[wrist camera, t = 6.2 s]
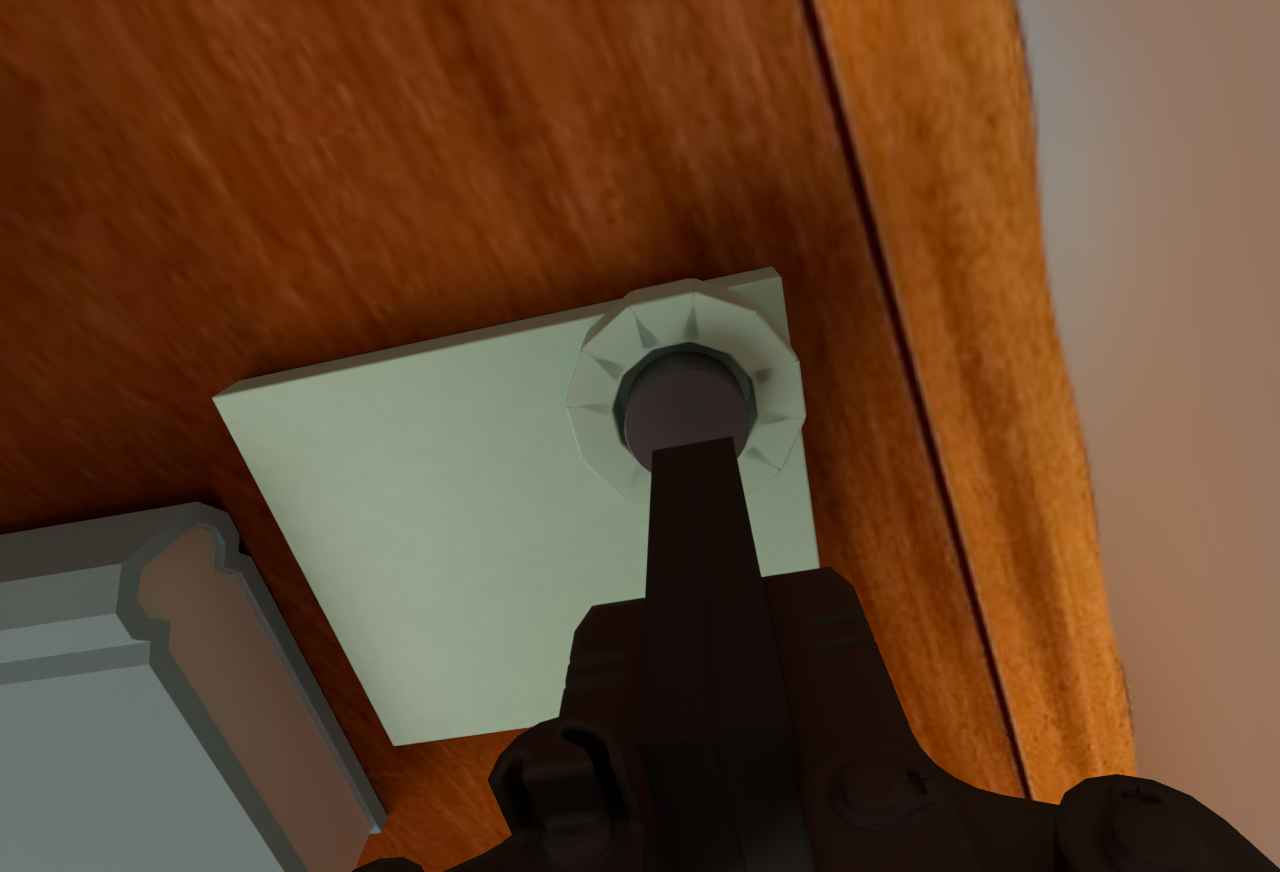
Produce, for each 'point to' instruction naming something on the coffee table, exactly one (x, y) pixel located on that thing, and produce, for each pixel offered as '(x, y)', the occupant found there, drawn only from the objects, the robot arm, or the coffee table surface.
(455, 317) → the coffee table surface
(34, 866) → the book
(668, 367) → the button
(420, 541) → the scale
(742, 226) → the coffee table surface
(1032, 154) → the coffee table surface
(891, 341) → the coffee table surface
